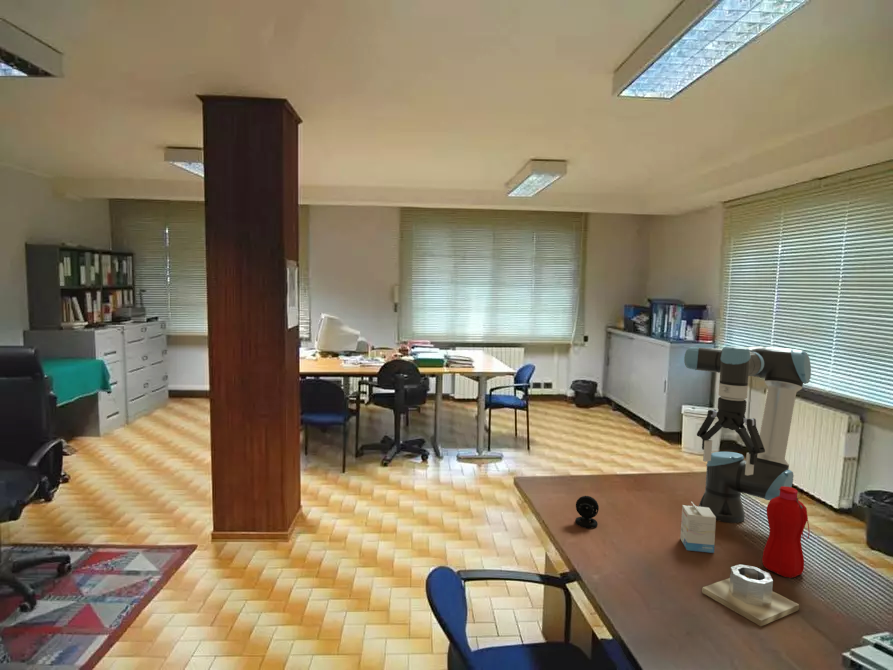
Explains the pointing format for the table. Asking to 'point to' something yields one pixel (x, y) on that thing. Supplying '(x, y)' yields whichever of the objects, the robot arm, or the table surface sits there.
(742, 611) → the shaft block
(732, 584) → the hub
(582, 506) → the webcam
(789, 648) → the table surface
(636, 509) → the table surface
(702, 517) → the ink box
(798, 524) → the water bottle
